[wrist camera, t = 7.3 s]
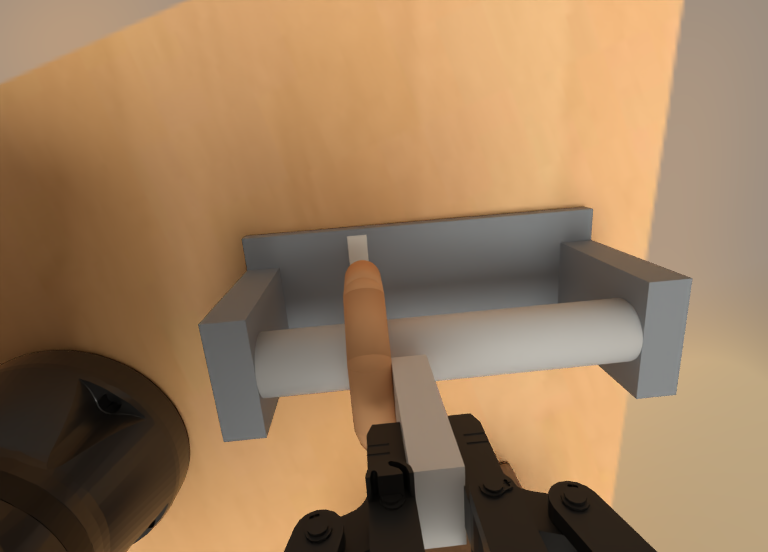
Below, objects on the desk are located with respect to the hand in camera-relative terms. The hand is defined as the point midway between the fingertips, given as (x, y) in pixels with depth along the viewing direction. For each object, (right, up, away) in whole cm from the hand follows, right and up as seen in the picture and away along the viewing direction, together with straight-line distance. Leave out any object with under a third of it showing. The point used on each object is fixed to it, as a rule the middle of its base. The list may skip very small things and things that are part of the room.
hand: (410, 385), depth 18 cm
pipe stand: (+1, +3, +11) cm, 11 cm away
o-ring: (-2, +2, +7) cm, 8 cm away
